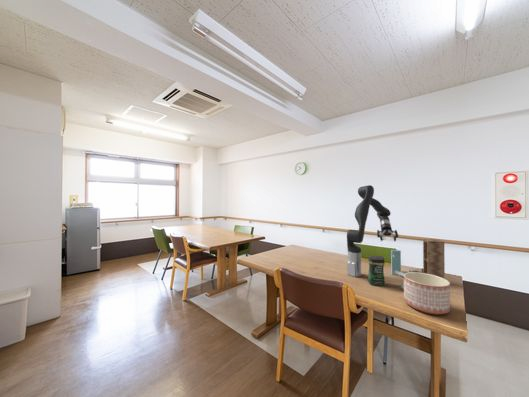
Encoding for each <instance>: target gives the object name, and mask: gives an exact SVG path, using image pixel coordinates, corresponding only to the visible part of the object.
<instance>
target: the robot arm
mask: <svg viewBox="0 0 529 397" xmlns="http://www.w3.org/2000/svg"><path fill="white" fill-rule="evenodd" d="M357 194H358V196H359V197H360V198H361V199H362V200H361V202H359V204H358V205H357V206H356V208H355V211H354V218H355V220H356V222H357V225H358V229H357V230H356V229H348V230H347V232H346V244H347V262H346V263H347V264H346V266H347V268H346V270H347V271H346V272H347V273H346V274H347V275H348V276H351V277H361V276H362V249H361V247H360V246H358V245H356V244H361V243H363V241H364V237H365V229H366V223H367V220H368V217H369V211H370V206H371V207H372V208H373V210H374V211H375V212H376V215H377V218H379V221H380V222H379V223H380V230H379V229H377V230H376V231H377V232H376V233H377V234H376V235H377V238H379V239H380V241H381V242H383V240H384V239H383V237H387V236H389V237H392V238H393V241H394V242H396V241H397V238H399V233H398V231H397V229H395V230H393V229H392V224H391V221H390V216H391V211H390V210H389V208H388V207H385V206H384V205H383V204H382V203H381V202H380V201H379V200H378V199H375V198H373V197H374V194H375V188H374V187H373V186H372V185H370V184H369V185H364V186H360V187H358V189H357Z"/></svg>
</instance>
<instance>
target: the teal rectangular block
mask: <svg viewBox="0 0 529 397" xmlns="http://www.w3.org/2000/svg"><path fill="white" fill-rule="evenodd" d="M401 252H402V251H401V250H399V249H391V250H390V263H391V264H390V274H391V275H392V276H398V275H397V274H395V271H398V272H401V271H402V270H401V268H402V259H401V258H402V257H401V256H402V254H401Z"/></svg>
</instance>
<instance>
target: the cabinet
mask: <svg viewBox="0 0 529 397" xmlns="http://www.w3.org/2000/svg"><path fill="white" fill-rule="evenodd" d="M422 241H423V242H422V245H423V246H422V256H423V257H422V259H423V260H422V264H423V265H422V267H423V268H421V270H414V269H412V270H411V269H408V271H403V270H401V273H404V274H405V273H409V272H418V273H426V274H431V275H435V276H438V277H441V278H444V279H446V278H445V276H446V274H445V271H446V270H445V268H446V267H445V265H446V264H445V263H446V262H445V241H443V240H440V239H429V238H423V239H422Z"/></svg>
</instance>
